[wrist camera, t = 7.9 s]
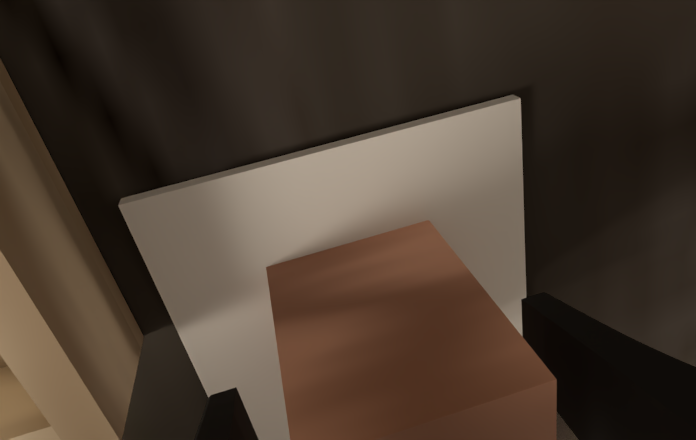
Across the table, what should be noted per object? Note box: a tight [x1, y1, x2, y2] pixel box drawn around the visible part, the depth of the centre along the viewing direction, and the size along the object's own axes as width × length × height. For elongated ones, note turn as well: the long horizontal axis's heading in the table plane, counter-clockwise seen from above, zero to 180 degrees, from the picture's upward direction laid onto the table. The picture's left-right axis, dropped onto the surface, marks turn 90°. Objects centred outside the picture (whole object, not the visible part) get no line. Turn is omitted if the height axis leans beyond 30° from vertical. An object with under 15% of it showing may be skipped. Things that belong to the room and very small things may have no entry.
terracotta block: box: [266, 220, 557, 440], centre depth 12 cm, size 4×4×6 cm
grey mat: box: [118, 95, 526, 440], centre depth 15 cm, size 10×10×1 cm
